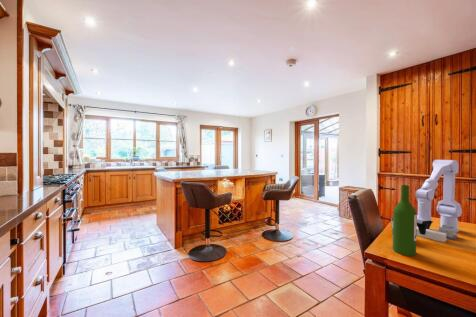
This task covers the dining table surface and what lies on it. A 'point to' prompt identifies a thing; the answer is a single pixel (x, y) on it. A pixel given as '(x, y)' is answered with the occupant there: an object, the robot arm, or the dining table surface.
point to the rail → (433, 235)
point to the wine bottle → (404, 225)
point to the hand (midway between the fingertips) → (423, 233)
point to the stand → (448, 231)
